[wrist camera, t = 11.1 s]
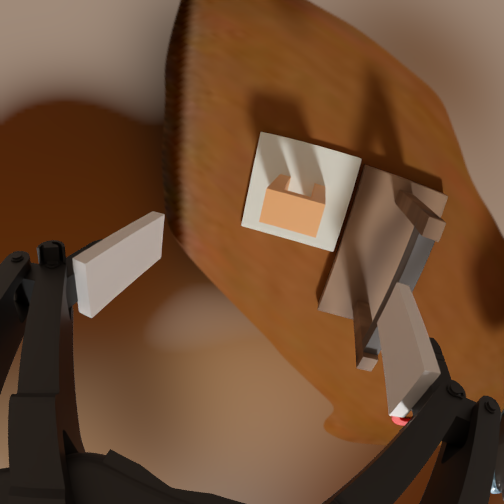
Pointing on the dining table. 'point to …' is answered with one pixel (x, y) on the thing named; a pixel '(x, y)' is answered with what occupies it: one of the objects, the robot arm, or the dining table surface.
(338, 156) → the rubber mat
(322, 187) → the c-link
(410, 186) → the stand
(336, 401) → the dining table surface
